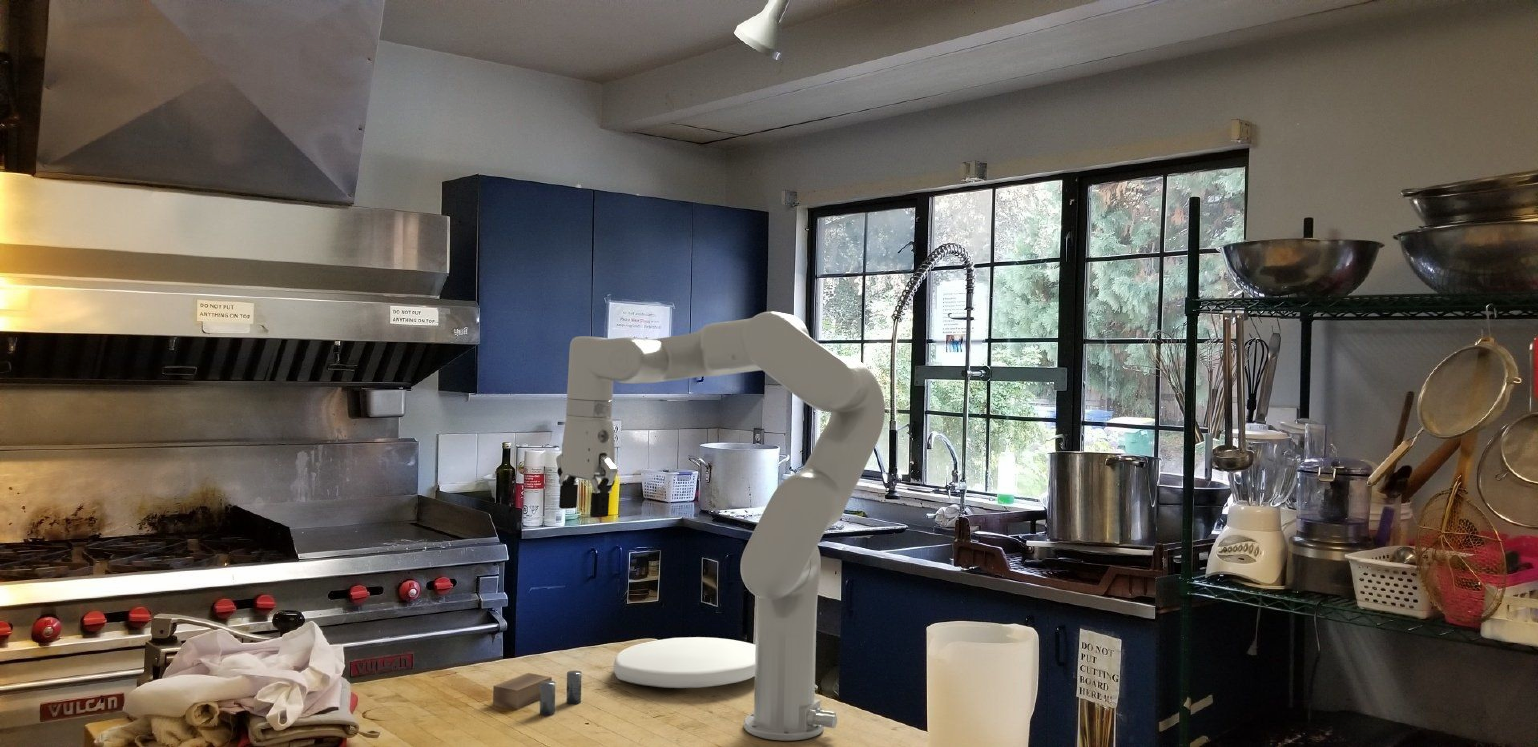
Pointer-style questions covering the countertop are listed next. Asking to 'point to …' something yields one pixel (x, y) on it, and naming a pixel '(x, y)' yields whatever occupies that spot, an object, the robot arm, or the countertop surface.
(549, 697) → the bench dogs
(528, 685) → the block
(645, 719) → the countertop surface
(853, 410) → the robot arm
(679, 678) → the white thick disc
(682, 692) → the countertop surface
